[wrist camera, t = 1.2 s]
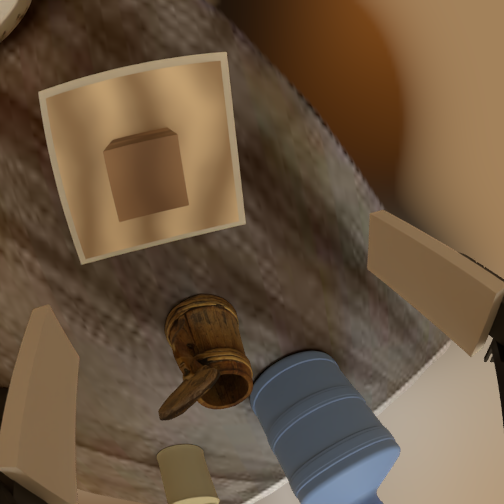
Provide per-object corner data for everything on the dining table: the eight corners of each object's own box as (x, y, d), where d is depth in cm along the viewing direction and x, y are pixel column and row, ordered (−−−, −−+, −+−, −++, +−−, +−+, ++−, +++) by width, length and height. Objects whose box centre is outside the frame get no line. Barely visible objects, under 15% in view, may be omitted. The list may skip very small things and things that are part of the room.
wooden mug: (181, 253, 34) (227, 378, 19) (249, 322, 41) (312, 432, 26) (123, 302, 34) (132, 439, 19) (197, 360, 41) (238, 476, 26)
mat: (82, 262, 30) (81, 264, 30) (40, 92, 22) (38, 92, 21) (244, 222, 35) (245, 223, 34) (224, 52, 26) (226, 51, 26)
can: (197, 464, 54) (213, 513, 44) (153, 465, 50) (165, 517, 40) (208, 443, 51) (227, 496, 41) (159, 443, 47) (173, 501, 37)
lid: (87, 253, 30) (74, 305, 22) (49, 98, 22) (14, 96, 14) (235, 217, 34) (269, 255, 26) (217, 62, 26) (249, 46, 18)
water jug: (231, 384, 46) (309, 550, 22) (320, 331, 47) (436, 475, 23) (268, 421, 54) (335, 545, 30) (340, 378, 55) (425, 491, 32)
